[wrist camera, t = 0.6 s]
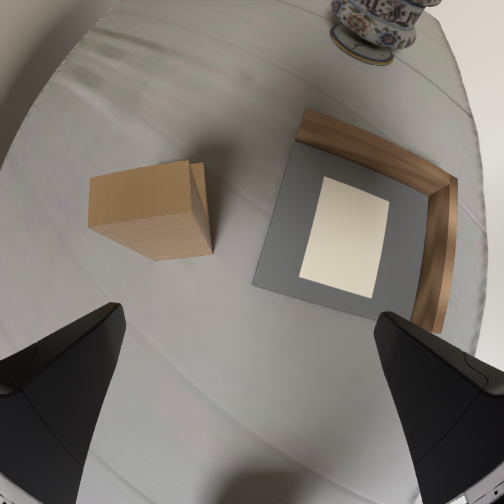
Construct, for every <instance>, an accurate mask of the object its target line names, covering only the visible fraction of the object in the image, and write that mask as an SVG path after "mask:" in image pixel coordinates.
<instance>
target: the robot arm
mask: <svg viewBox="0 0 504 504" xmlns="http://www.w3.org/2000/svg"><path fill="white" fill-rule="evenodd" d="M125 330H126V321H125V316H124V312H123V307H122V305H121V304H120V303H114V302H110V303H108V304H106V305H104V306H102V307H100V308H98V309H96V310H94V311H93V312H91V313H89V314H87V315H85V316H83V317H81V318H80V319H78V320H76V321H74V322H72V323H70V324H68V325H67V326H65V327H63V328H61V329H59V330H57V331H56V332H54V333H52V334H50V335H48V336H47V337H45V338H43V339H41V340H39V341H38V342H37V343H34V344H32V345H30V346H28V347H27V348H25V349H23V350H21V351H19V352H17V353H15V354H13V355H11V356H9V357H7V358H5V359H3V360H0V504H76V499H77V495H78V490H79V486H80V481H81V477H82V473H83V469H84V468H83V467H84V465H85V461H86V457H87V454H88V450H89V446H90V443H91V439H92V436H93V433H94V429H95V426H96V423H97V420H98V417H99V414H100V410H101V407H102V404H103V401H104V398H105V396H106V393H107V390H108V387H109V384H110V381H111V379H112V376H113V373H114V370H115V367H116V365H117V361H118V357H119V353H120V349H121V345H122V341H123V338H124V334H125ZM374 338H375V342H376V346H377V349H378V353H379V357H380V361H381V365H382V368H383V372H384V374H385V377H386V380H387V383H388V386H389V388H390V391H391V394H392V397H393V400H394V403H395V406H396V409H397V412H398V415H399V418H400V421H401V424H402V427H403V430H404V434H405V437H406V440H407V444H408V447H409V450H410V454H411V457H412V461H413V465H414V469H415V473H416V477H417V481H418V485H419V489H420V493H421V497H422V502H423V504H449V503H451V502H453V501H455V500H457V499H458V498H460V497H462V496H465V499H466V501H467V503H466V504H504V372H503V371H501V370H499V369H497V368H495V367H493V366H490V365H489V364H487V363H485V362H483V361H480V360H479V359H477V358H475V357H473V356H471V355H470V354H468V353H466V352H464V351H463V352H462V350H461V349H459V348H457V347H455V346H453V345H452V344H450V343H448V342H446V341H445V340H443V339H441V338H439V337H437V336H436V335H434V334H432V333H430V332H428V331H427V330H425V329H423V328H421V327H419V326H417V325H416V324H414V323H412V322H410V321H408V320H407V319H405V318H403V317H401V316H399V315H397V314H396V313H394V312H392V311H384V312H381V313H380V315H379V317H378V320H377V323H376V326H375V329H374Z"/></svg>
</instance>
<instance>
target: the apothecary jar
mask: <svg viewBox="0 0 504 504" xmlns="http://www.w3.org/2000/svg"><path fill="white" fill-rule="evenodd" d="M441 1H442V0H332V4H331V5H332V10H333V12H334V14H335V15H336V17H337V18H338V19H339V21H340V22H341V23H342V24H337V25H335V26H333V27H332V28H331V30H330V35H331V38H332V40H333V41H334V43H335V44H336V45H337V46H338V47H339V48H340V49H342V50H343V51H344V52H346V53H347V54H349V55H350V56H352V57H354V58H356V59H358V60H361V61H363V62H366V63H369V64H373V65H379V66H384V65H388V64H390V63H391V62H392V61H393V57H394V56H393V54H392V52H391V51H390V48H391V49H403V48H407V47H409V46H411V45H412V44H413V43H414V42H415V39H416V30H415V27H414V25H415V23H416V21H417V19H418V18H419V16H420V15H421V13H422V12H423V10H424V9H425V7H426V6H427V7H433V6H437V5H438V4H440V3H441Z"/></svg>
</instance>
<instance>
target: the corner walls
mask: <svg viewBox="0 0 504 504" xmlns="http://www.w3.org/2000/svg"><path fill="white" fill-rule="evenodd" d="M295 141H297V142H300V143H303V144H306V145H308V146H311V147H314V148H317V149H320V150H323V151H326V152H328V153H331V154H334V155H336V156H339V157H342V158H344V159H347V160H349V161H352V162H354V163H357V164H359V165H362V166H364V167H367V168H369V169H371V170H374V171H376V172H378V173H381V174H383V175H385V176H387V177H390V178H392V179H394V180H396V181H398V182H400V183H403V184H405V185H407V186H409V187H411V188H413V189H415V190H417V191H419V192H421V193H423V194H425V195H427V196H429V197H428V212H427V224H426V234H425V243H424V250H423V257H422V264H421V270H420V276H419V282H418V287H417V292H416V297H415V302H414V307H413V311H412V315H411V320H410V322H412V323H414V324H416V325H417V326H419V327H421V328H423V329H425V330H427V331H428V332H430V333H438V334H441V332H442V328H443V324H444V319H445V314H446V309H447V304H448V299H449V293H450V287H451V281H452V273H453V266H454V257H455V246H456V233H457V212H458V180H457V178H455V177H454V176H452V175H450V174H449V173H447V172H445V171H444V170H442V169H440V168H439V167H437V166H435V165H433V164H432V163H430V162H428V161H426V160H424V159H422V158H421V157H419V156H417V155H415V154H413V153H411V152H409V151H407V150H405V149H403V148H401V147H399V146H397V145H395V144H393V143H391V142H389V141H387V140H384V139H382V138H380V137H378V136H376V135H373V134H371V133H369V132H367V131H364V130H362V129H359V128H357V127H355V126H352V125H350V124H347V123H345V122H342V121H339V120H337V119H334V118H331V117H329V116H326V115H323V114H320V113H318V112H315V111H312V110H309V109H306V110H305V113H304V115H303V118H302V121H301V123H300V126H299V129H298V131H297V134H296V138H295Z"/></svg>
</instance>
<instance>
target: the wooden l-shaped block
mask: <svg viewBox="0 0 504 504" xmlns="http://www.w3.org/2000/svg"><path fill="white" fill-rule="evenodd" d="M88 228H90V229H92V230H94V231H96V232H98V233H100V234H102V235H104V236H106V237H108V238H110V239H112V240H113V241H115V242H117V243H119V244H121V245H123V246H126V247H128V248H130V249H132V250H134V251H136V252H138V253H140V254H142V255H144V256H146V257H148V258H150V259H152V260H154V261H159V260H168V259H177V258H185V257H194V256H203V255H211V254H213V252H212V242H211V232H210V221H209V210H208V198H207V186H206V173H205V168H204V163H196V164H190V163H189V160H185V161H178V162H171V163H165V164H159V165H153V166H147V167H141V168H136V169H131V170H125V171H120V172H116V173H111V174H106V175H102V176H97V177H93V178H91V179H90V192H89V211H88Z"/></svg>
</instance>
